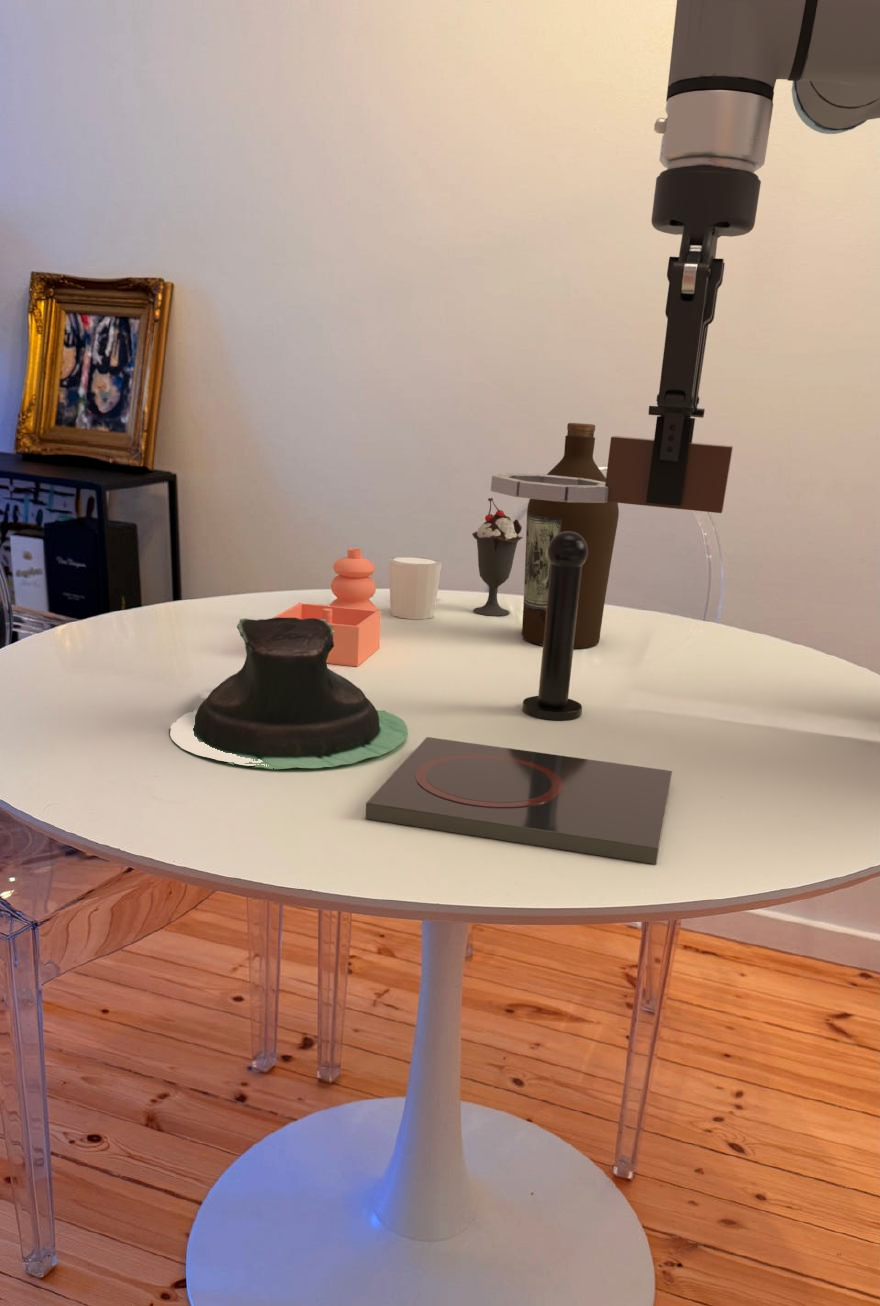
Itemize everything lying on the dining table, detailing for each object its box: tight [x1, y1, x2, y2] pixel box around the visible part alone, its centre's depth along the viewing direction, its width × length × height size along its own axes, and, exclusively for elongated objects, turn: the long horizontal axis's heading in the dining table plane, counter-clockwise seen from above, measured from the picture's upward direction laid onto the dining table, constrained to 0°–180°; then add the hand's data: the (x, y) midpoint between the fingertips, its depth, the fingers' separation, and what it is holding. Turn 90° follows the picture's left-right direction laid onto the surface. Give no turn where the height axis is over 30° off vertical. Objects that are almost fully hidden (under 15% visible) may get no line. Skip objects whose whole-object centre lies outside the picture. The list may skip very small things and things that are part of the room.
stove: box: [365, 736, 673, 865], centre depth 80 cm, size 20×16×1 cm
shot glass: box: [388, 556, 443, 620], centre depth 139 cm, size 7×7×7 cm
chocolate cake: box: [193, 616, 409, 770], centre depth 91 cm, size 15×19×20 cm
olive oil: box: [521, 422, 620, 649], centre depth 127 cm, size 11×11×25 cm
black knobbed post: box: [521, 531, 588, 721], centre depth 100 cm, size 6×6×17 cm
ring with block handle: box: [490, 435, 734, 514], centre depth 88 cm, size 19×10×5 cm, turn 74°
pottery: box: [272, 547, 382, 667], centre depth 121 cm, size 18×10×10 cm, turn 168°
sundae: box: [471, 497, 524, 617], centre depth 142 cm, size 7×7×15 cm
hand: (665, 501), depth 87 cm, fingers closed on ring with block handle, 2 cm apart
